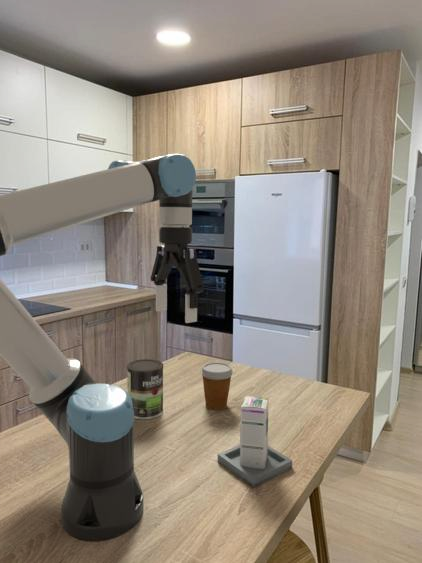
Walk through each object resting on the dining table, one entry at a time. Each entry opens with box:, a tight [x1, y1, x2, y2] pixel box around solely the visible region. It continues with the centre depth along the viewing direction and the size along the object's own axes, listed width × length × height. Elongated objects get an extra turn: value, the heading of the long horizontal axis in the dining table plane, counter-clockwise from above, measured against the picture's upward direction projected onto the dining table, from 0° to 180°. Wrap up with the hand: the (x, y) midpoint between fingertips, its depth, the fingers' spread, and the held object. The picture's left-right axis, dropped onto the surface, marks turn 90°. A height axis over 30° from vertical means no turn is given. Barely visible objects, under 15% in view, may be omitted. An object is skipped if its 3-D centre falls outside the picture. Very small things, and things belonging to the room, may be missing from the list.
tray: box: [217, 444, 293, 489], centre depth 96 cm, size 12×12×2 cm
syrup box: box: [239, 396, 269, 470], centre depth 95 cm, size 6×6×14 cm
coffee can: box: [126, 358, 164, 421], centre depth 120 cm, size 10×10×14 cm
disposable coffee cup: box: [200, 362, 234, 411], centre depth 125 cm, size 10×10×12 cm
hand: (175, 316), depth 100 cm, fingers open, 13 cm apart
